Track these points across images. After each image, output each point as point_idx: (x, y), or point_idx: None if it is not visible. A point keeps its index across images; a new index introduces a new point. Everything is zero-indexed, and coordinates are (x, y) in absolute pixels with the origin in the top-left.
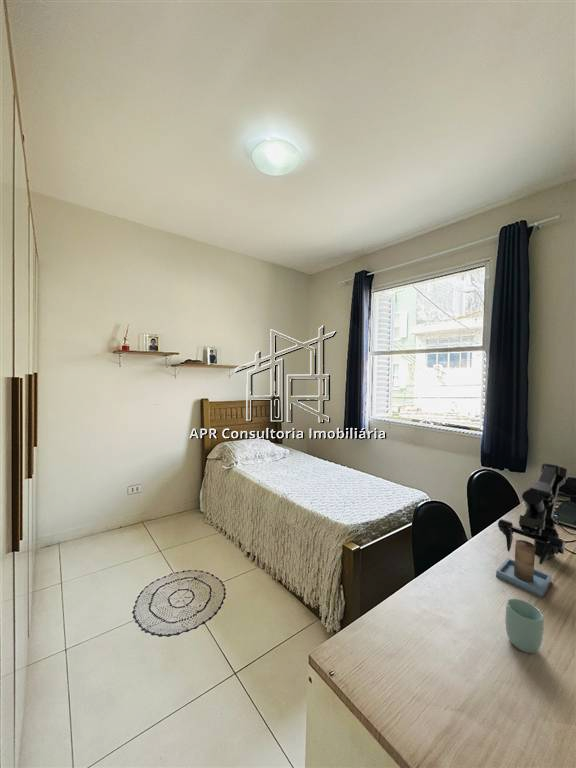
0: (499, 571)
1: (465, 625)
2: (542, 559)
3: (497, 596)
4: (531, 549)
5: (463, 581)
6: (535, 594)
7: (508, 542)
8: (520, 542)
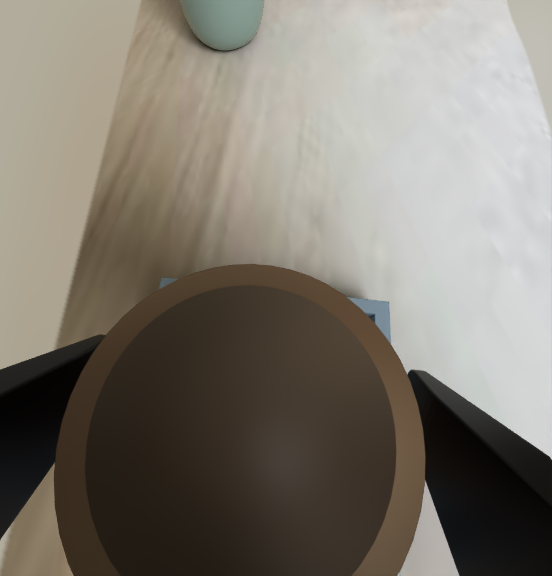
0: (374, 306)
1: (348, 17)
2: (58, 351)
3: (324, 171)
4: (147, 310)
5: (448, 171)
6: None
7: (491, 432)
8: (333, 404)
